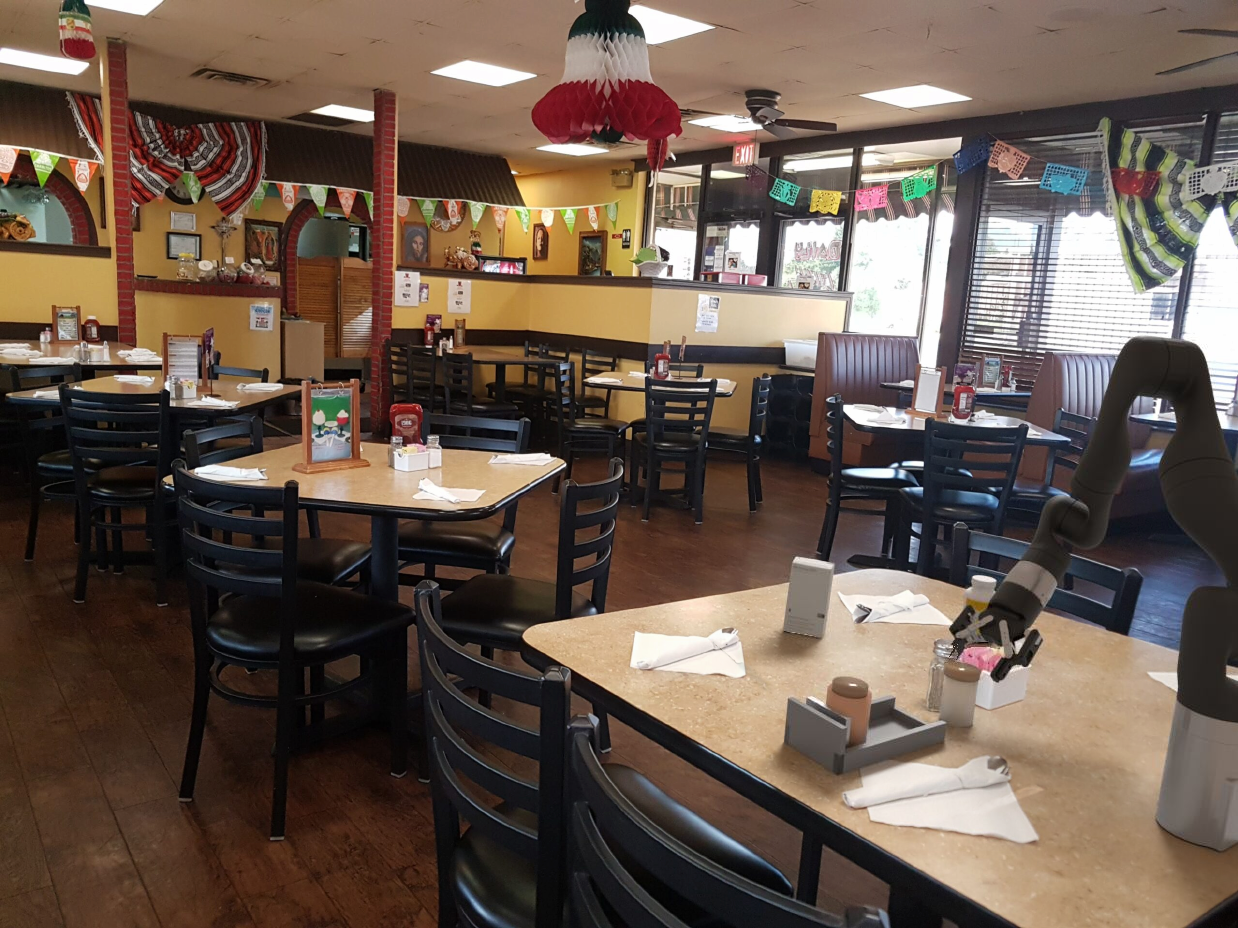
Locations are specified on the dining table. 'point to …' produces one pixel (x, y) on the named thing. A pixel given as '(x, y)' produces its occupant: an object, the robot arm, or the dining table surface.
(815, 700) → the plate
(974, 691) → the cream jar
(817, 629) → the skincare box
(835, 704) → the terracotta jar
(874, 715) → the pusher lane
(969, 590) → the supplement bottle
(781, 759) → the dining table surface
